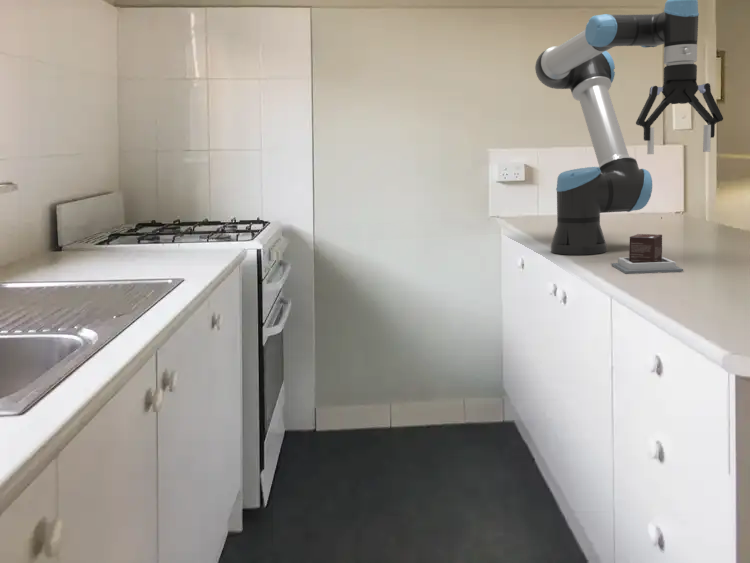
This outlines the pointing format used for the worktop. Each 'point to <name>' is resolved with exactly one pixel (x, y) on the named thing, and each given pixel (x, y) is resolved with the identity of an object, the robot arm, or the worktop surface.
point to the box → (645, 248)
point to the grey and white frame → (646, 266)
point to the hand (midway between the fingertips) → (678, 153)
